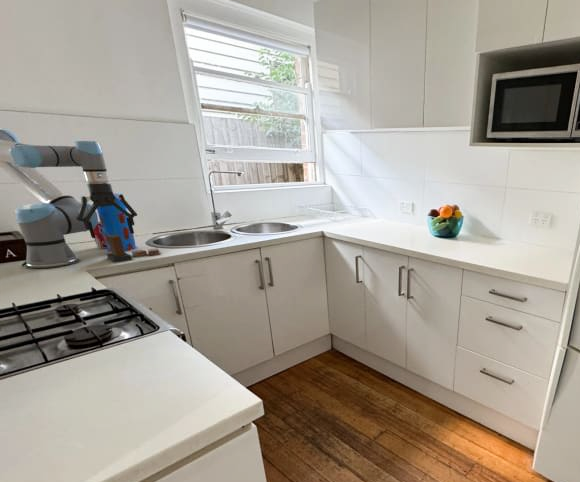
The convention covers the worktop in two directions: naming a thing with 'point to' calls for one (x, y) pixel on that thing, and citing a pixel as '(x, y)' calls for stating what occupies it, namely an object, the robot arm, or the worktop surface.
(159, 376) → the worktop surface
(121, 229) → the thermos
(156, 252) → the cork chip
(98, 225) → the soda can
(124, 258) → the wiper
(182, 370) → the worktop surface
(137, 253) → the cork chip
